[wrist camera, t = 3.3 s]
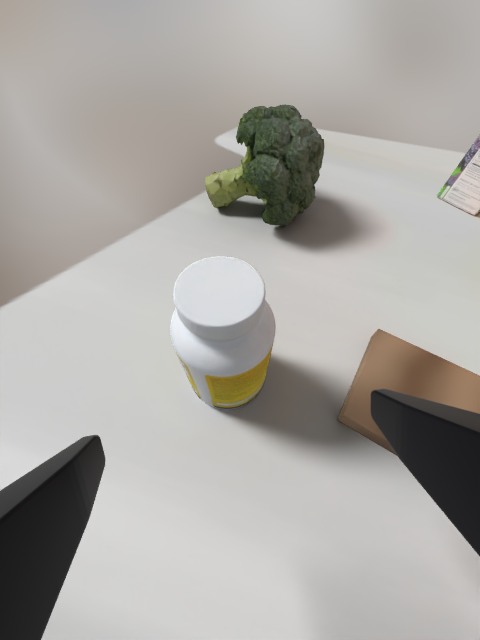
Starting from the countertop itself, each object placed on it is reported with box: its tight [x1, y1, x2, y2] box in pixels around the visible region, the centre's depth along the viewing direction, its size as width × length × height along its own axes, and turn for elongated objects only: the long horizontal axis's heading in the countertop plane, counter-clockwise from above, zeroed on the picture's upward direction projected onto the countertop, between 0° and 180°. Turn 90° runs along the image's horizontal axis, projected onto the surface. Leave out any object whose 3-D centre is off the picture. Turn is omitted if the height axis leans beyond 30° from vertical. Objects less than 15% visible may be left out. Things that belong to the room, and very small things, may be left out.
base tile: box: [337, 329, 480, 456], centre depth 21 cm, size 9×9×2 cm
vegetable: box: [205, 105, 324, 226], centre depth 32 cm, size 12×13×15 cm
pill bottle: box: [170, 256, 276, 410], centre depth 18 cm, size 6×6×12 cm
